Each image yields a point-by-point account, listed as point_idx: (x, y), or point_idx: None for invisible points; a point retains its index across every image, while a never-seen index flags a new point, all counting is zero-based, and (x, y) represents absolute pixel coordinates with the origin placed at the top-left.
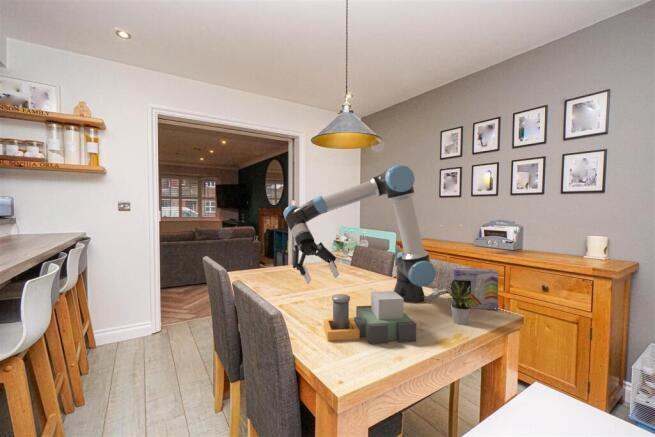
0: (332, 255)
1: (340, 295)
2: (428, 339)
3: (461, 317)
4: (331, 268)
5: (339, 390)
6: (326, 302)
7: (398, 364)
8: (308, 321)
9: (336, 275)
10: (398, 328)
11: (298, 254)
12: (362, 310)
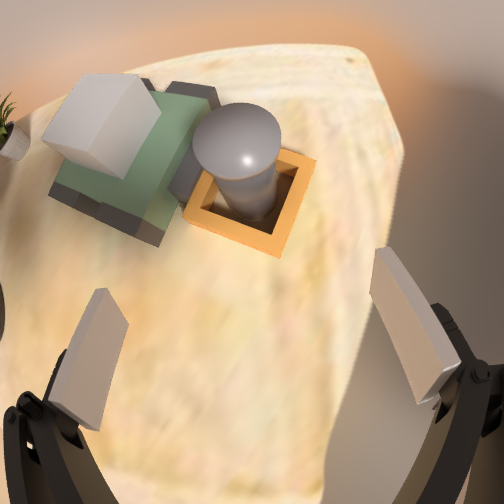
0: (11, 447)
1: (225, 153)
2: None
3: (22, 131)
4: (100, 378)
5: (358, 52)
6: (159, 441)
7: (231, 54)
8: (303, 329)
9: (114, 307)
10: (150, 89)
11: (501, 499)
12: (145, 189)
